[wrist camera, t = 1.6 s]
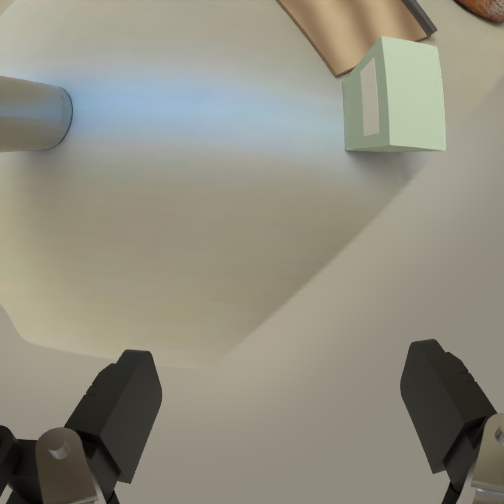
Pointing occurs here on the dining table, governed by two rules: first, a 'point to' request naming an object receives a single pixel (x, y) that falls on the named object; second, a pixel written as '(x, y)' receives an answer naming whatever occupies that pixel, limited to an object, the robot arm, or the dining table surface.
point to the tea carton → (395, 99)
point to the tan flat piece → (355, 26)
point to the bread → (485, 8)
